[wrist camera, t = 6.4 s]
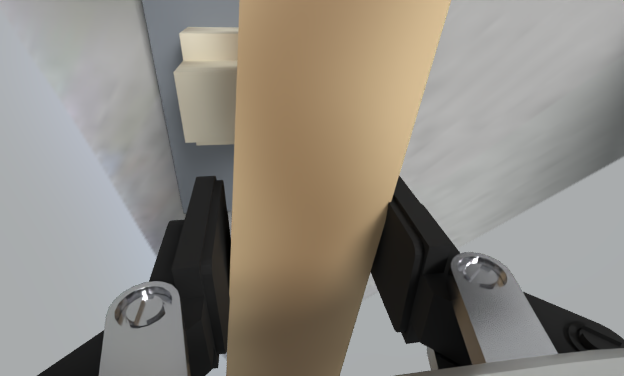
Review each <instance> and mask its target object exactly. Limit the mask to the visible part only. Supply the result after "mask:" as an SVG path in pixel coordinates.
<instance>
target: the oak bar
mask: <svg viewBox="0 0 624 376" xmlns="http://www.w3.org/2000/svg"><path fill="white" fill-rule="evenodd" d="M450 2H451V0H239V29H238V57H237V86H236V115H235V143H234V172H233V201H232V229H231V258H230V287H229V296H230V308H229V324H228V344H227V374H226V376H340V372H341V369H342V366H343V362H344V359H345V356H346V352H347V349H348V345H349V342H350V338H351V335H352V332H353V329H354V325H355V322H356V318H357V315H358V312H359V309H360V305H361V302H362V298H363V295H364V292H365V288H366V285H367V282H368V278H369V275H370V272H371V268H372V265H373V261H374V258H375V255H376V251H377V248H378V245H379V241H380V238H381V235H382V231H383V228H384V224H385V221H386V216H387V209H388V203H389V202H391V201H392V198H393V194H394V191H395V187H396V184H397V181H398V177H399V174H400V171H401V167H402V164H403V160H404V157H405V154H406V150H407V147H408V144H409V140H410V137H411V134H412V130H413V127H414V123H415V120H416V117H417V113H418V110H419V107H420V103H421V100H422V97H423V93H424V90H425V86H426V83H427V80H428V76H429V73H430V70H431V66H432V63H433V60H434V56H435V53H436V49H437V46H438V43H439V39H440V36H441V33H442V29H443V26H444V23H445V19H446V16H447V12H448V9H449V6H450Z"/></svg>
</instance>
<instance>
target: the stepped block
mask: <svg viewBox="0 0 624 376" xmlns="http://www.w3.org/2000/svg"><path fill="white" fill-rule="evenodd" d="M238 29H239V27H187V28H186V29H184V30H183V31H182V32H180V33H179V36H180V42H181V49H182V55H183V62H182V63H181V64H180V65H179V66H178V67H177V69H176V70H175V71H174V72H173V73H174V79H175V85H176V90H177V96H178V102H179V108H180V114H181V119H182V125H183V131H184V137H185V143H193V142H196V145H228V144H234V143H235V115H236V86H237V57H238Z"/></svg>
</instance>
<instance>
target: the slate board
mask: <svg viewBox="0 0 624 376" xmlns="http://www.w3.org/2000/svg"><path fill="white" fill-rule="evenodd" d="M142 3H143V8H144V14H145V19H146V24H147V29H148V34H149V39H150V44H151V49H152V54H153V59H154V65H155V70H156V75H157V80H158V85H159V90H160V95H161V100H162V105H163V110H164V115H165V121H166V126H167V131H168V136H169V141H170V146H171V151H172V156H173V161H174V166H175V172H176V177H177V182H178V187H179V192H180V197H181V202H182V207H183V212H184V214H185V213H187V209H188V206H189V202H190V198H191V194H192V191H193V187H194V183H195V180H196V177H199V176H216V179H217V180H223V182H224V189H225V197H226V205H227V211H232V201H233V172H234V144H228V145H196V142H193V143H185V137H184V131H183V125H182V119H181V114H180V108H179V102H178V96H177V90H176V85H175V79H174V73H173V72H174V71H175V70H176V69H177V67H178V66H179V65H180V64H181V63H182V62H183V55H182V49H181V42H180V36H179V33H180V32H182V31H183V30H184V29H186V28H187V27H239V0H142Z"/></svg>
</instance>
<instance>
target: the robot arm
mask: <svg viewBox="0 0 624 376" xmlns="http://www.w3.org/2000/svg"><path fill="white" fill-rule="evenodd" d="M230 258H231V237H230V229H229V221H228V213H227V205H226V197H225V189H224V182H223V180H217V179H216V176H199V177H196V180H195V183H194V187H193V191H192V194H191V198H190V202H189V206H188V209H187V213H186V217H185V220H174V221H170V222H169V223H168V226H167V229H166V232H165V235H164V238H163V241H162V244H161V247H160V250H159V253H158V256H157V259H156V262H155V265H154V268H153V271H152V274H151V277H150V280H149V282H145V283H142V284H139V285H136V286H133V287H131V288H130V289H128V290H126V291H124V292H123V293H122V294H120V295H119V296H118V297H117V298H116V299H115V300H114V301H113V303H112V304H111V305H110V307H109V309H108V312H107V315H106V321H105V329H104V331H102V332H101V333H99V334H98V335H96V336H95V337H93V338H92V339H90V340H89V341H87V342H86V343H85V344H83V345H82V346H80V347H79V348H77V349H76V350H74V351H73V352H71V353H70V354H68V355H67V356H65V357H64V358H62V359H61V360H59V361H58V362H56V363H55V364H54V365H52V366H51V367H49V368H48V369H46V370H45V371H43V372H42V373H40V374H39V375H37V376H205V375H206V374H208V373H209V372H210V371H211V370H212V369H213V368H218V363H219V354H225V353H226V352H227V341H228V324H229V308H230V296H229V287H230ZM371 274H372V276H373V279H374V281H375V284H376V286H377V289H378V291H379V293H380V296H381V298H382V300H383V303H384V306H385V308H386V310H387V313H388V315H389V318H390V320H391V323H392V325H393V327H394V329H395V331H396V332H401V333H402V335H403V337H404V340H405V342H406V344H408V343H416V342H420V343H422V344H424V345H426V346H427V354H428V359H429V363H430V367H431V371H424V372H418V373H410V374H403V375H396V376H624V339H623V338H621V337H620V336H619V335H617V334H616V333H615V332H613V331H612V330H610V329H608V328H606V327H605V326H603V325H601V324H599V323H596V322H594V321H591V320H589V319H587V318H584V317H582V316H579V315H577V314H575V313H573V312H570V311H568V310H565V309H563V308H560V307H558V306H556V305H553V304H551V303H548V302H546V301H544V300H541V299H539V298H537V297H534V296H532V295H529V294H527V293H525V292H522V290H521V288H520V286H519V285H518V283H517V281H516V280H515V278H514V276H513V274H512V273H511V272H510V270H509V269H508V268H507V267H506V266H505V265H503V264H502V263H501V262H500V261H498V260H496V259H494V258H492V257H490V256H487V255H484V254H481V253H474V252H465V253H461V254H460V252H459V251H458V250H457V248H456V247H455V246H454V244H453V243H452V242H451V241H450V239H449V238H448V237H447V235H446V234H445V233H444V231H443V230H442V229H441V227H440V226H439V225H438V224H437V222H436V221H435V220H434V218H433V217H432V216H431V214H430V213H429V212H428V210H427V209H426V208H425V207H424V206H423V205H422V204H421V203H420V202H419V201H418V200H417V198H416V197H415V196H414V194H413V193H412V192H411V190H410V189H409V188H408V186H407V185H406V184H405V182H404V181H403V180H402V178H401V177H400V176H399V177H398V181H397V184H396V187H395V191H394V194H393V198H392V201H391V202H389V203H388V209H387V216H386V221H385V224H384V228H383V231H382V235H381V238H380V241H379V245H378V248H377V251H376V255H375V258H374V261H373V265H372V268H371Z"/></svg>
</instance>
